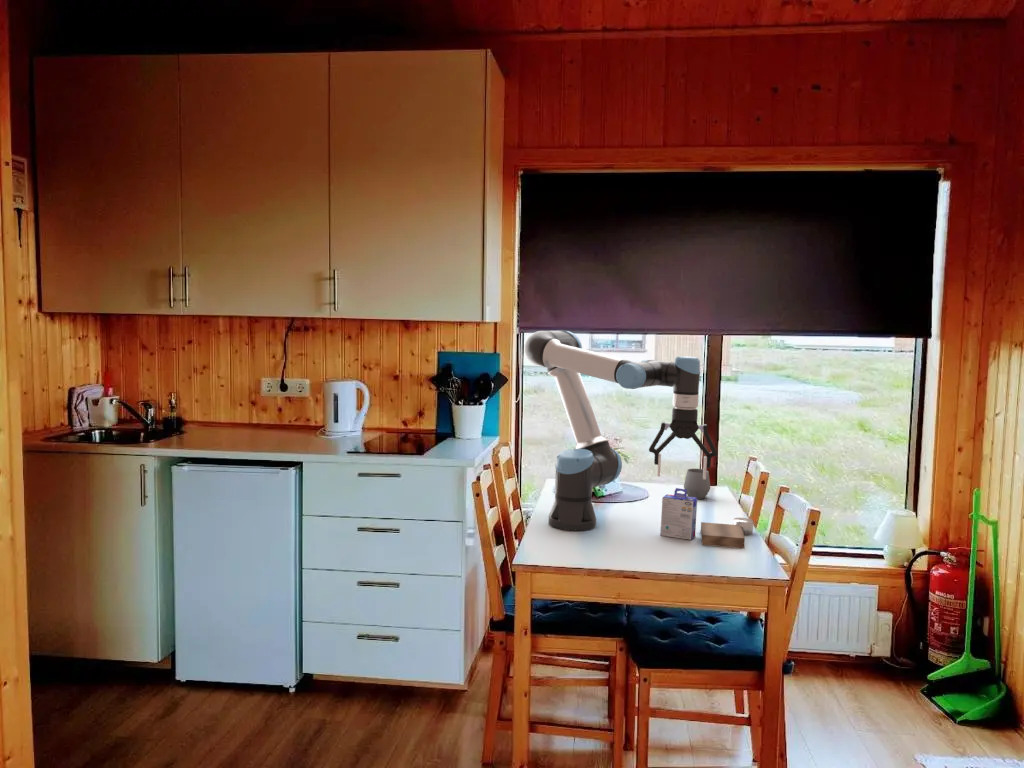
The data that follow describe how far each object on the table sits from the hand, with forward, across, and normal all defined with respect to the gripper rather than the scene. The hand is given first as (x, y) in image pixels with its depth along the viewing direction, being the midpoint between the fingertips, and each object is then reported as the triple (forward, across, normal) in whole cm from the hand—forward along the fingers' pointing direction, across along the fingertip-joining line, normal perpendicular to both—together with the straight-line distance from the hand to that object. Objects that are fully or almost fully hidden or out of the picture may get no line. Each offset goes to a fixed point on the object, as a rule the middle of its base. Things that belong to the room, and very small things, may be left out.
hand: (681, 476), depth 244 cm
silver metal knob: (+18, +20, +10) cm, 29 cm away
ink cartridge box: (+19, 0, 0) cm, 19 cm away
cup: (+19, +7, +52) cm, 56 cm away
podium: (+18, +13, 0) cm, 22 cm away
